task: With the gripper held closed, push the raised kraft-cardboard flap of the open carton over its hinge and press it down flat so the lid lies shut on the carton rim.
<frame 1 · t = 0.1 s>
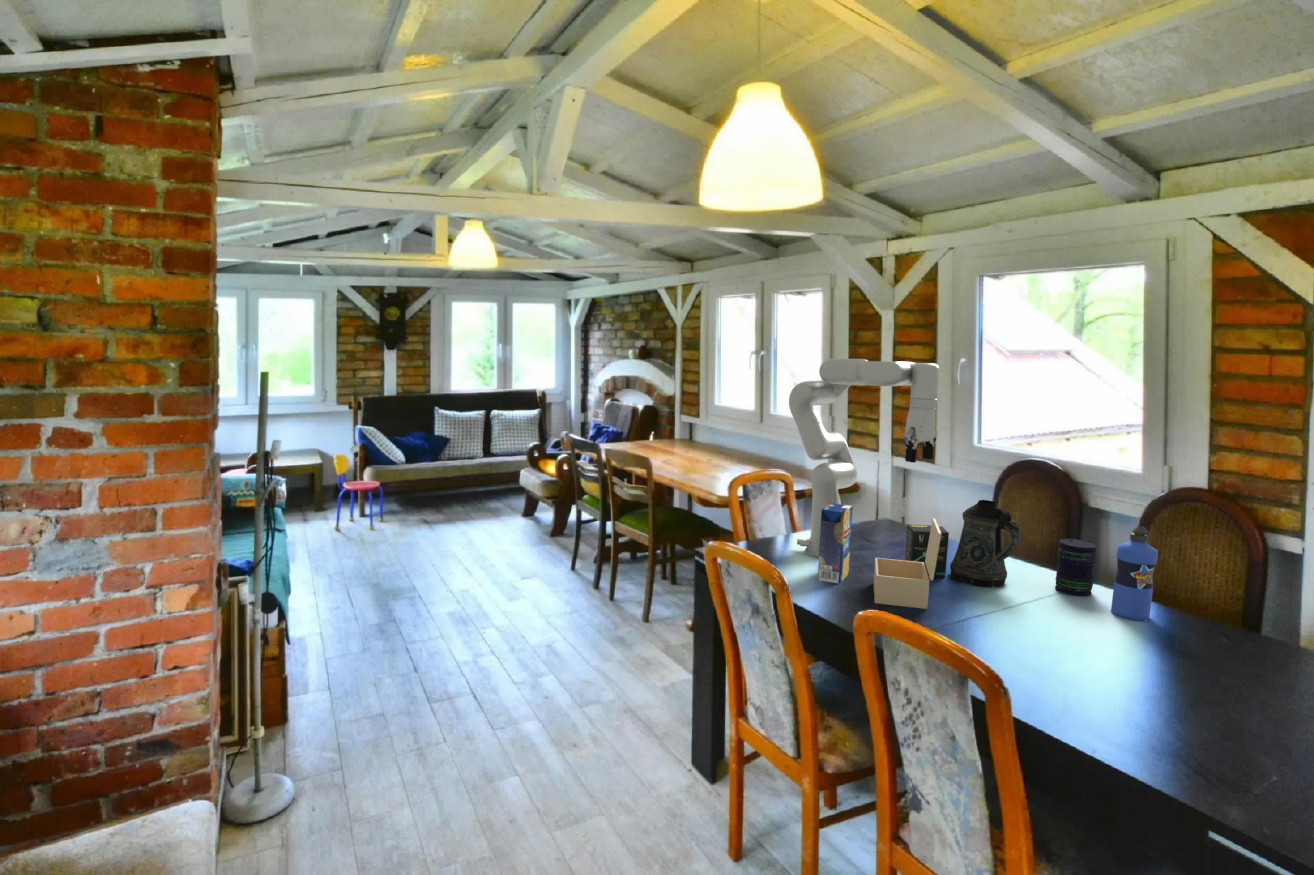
hand: (919, 460, 228), 37 cm above the table, tool pointing down, fingers open, 9 cm apart
storage jar: (1072, 591, 225), on the table
water bottle: (1129, 615, 207), on the table
beer stein: (982, 580, 234), on the table
beverage box: (833, 577, 233), on the table
tampon box: (924, 572, 240), on the table
lid: (933, 548, 213), point 15 cm above the table, hinge at 95.0°
carton: (899, 595, 217), on the table
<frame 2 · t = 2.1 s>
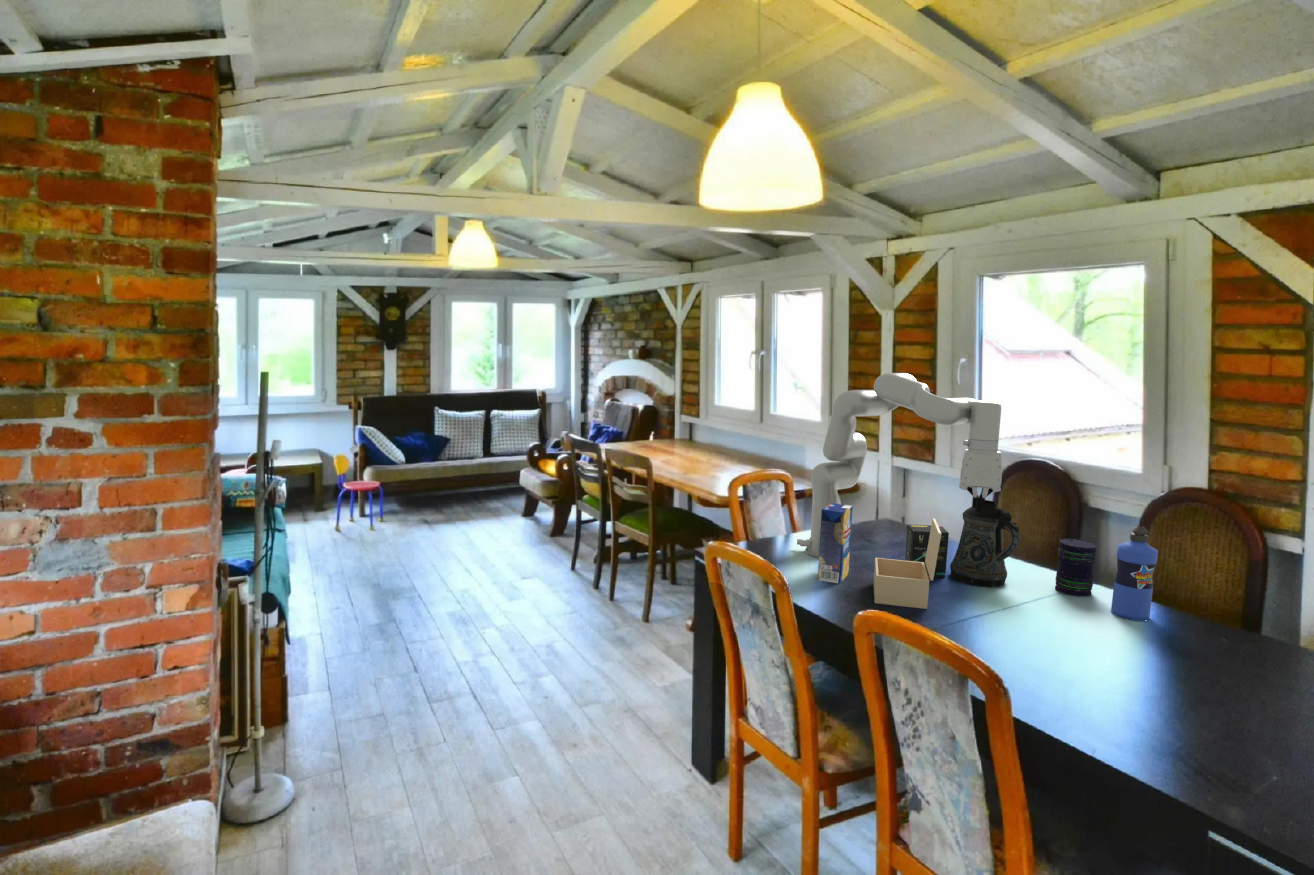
hand: (977, 510, 209), 27 cm above the table, tool pointing down, fingers closed
nothing on the table moved.
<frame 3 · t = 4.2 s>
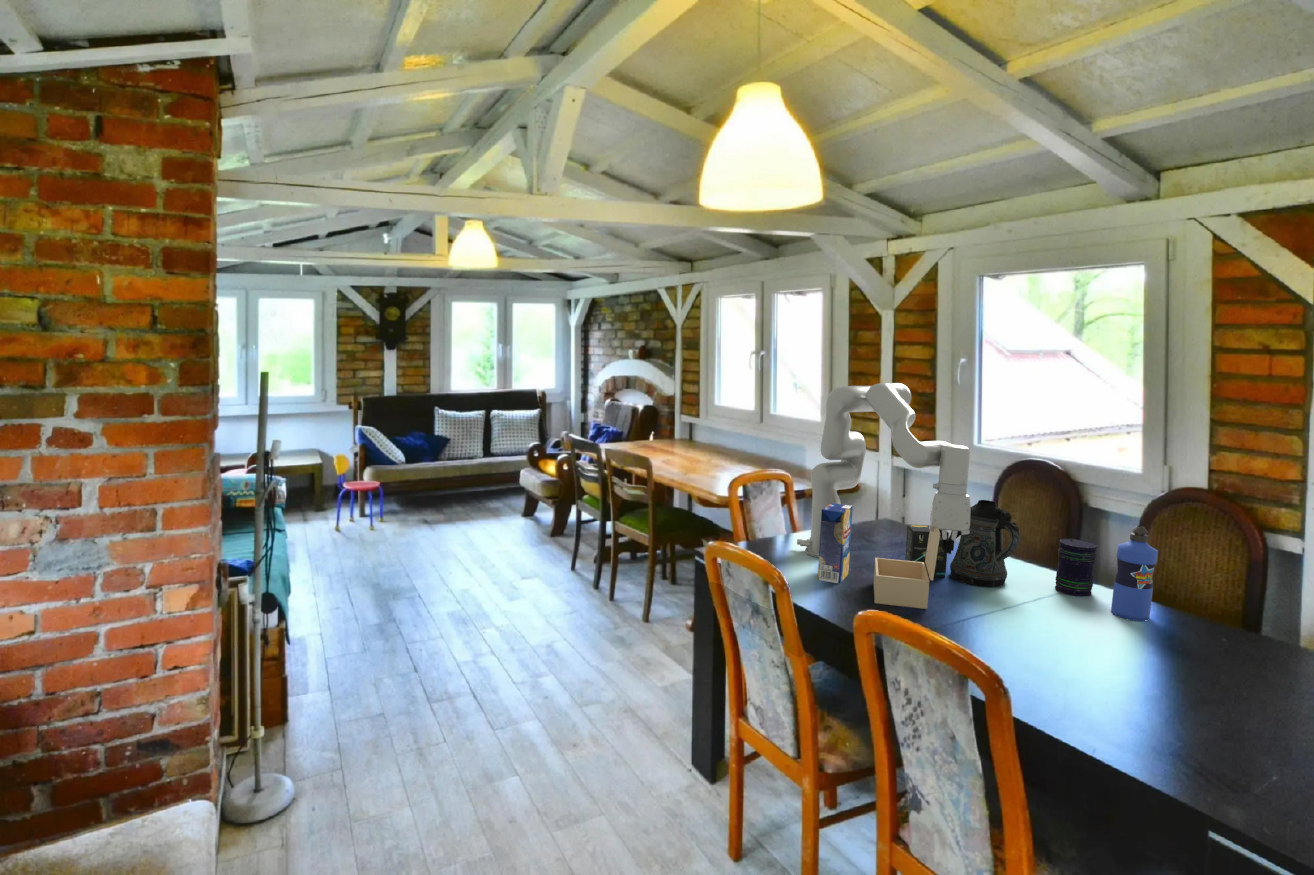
hand: (947, 552, 212), 14 cm above the table, tool pointing down, fingers closed
lid: (932, 548, 213), point 15 cm above the table, hinge at 93.8°, touching gripper
everything else where it was.
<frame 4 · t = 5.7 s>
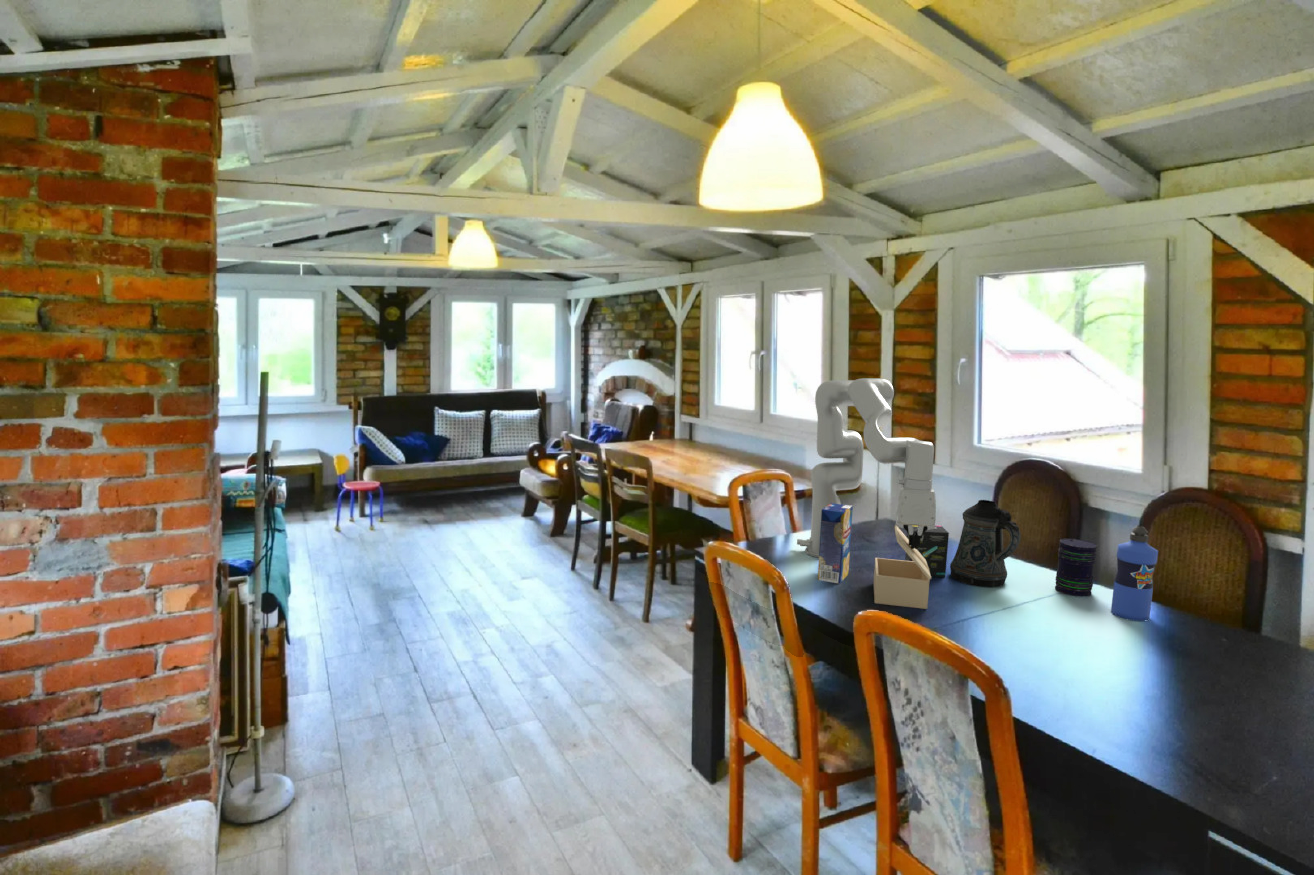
hand: (914, 547, 214), 15 cm above the table, tool pointing down, fingers closed
lid: (912, 551, 215), point 14 cm above the table, hinge at 47.1°, touching gripper
everything else where it was.
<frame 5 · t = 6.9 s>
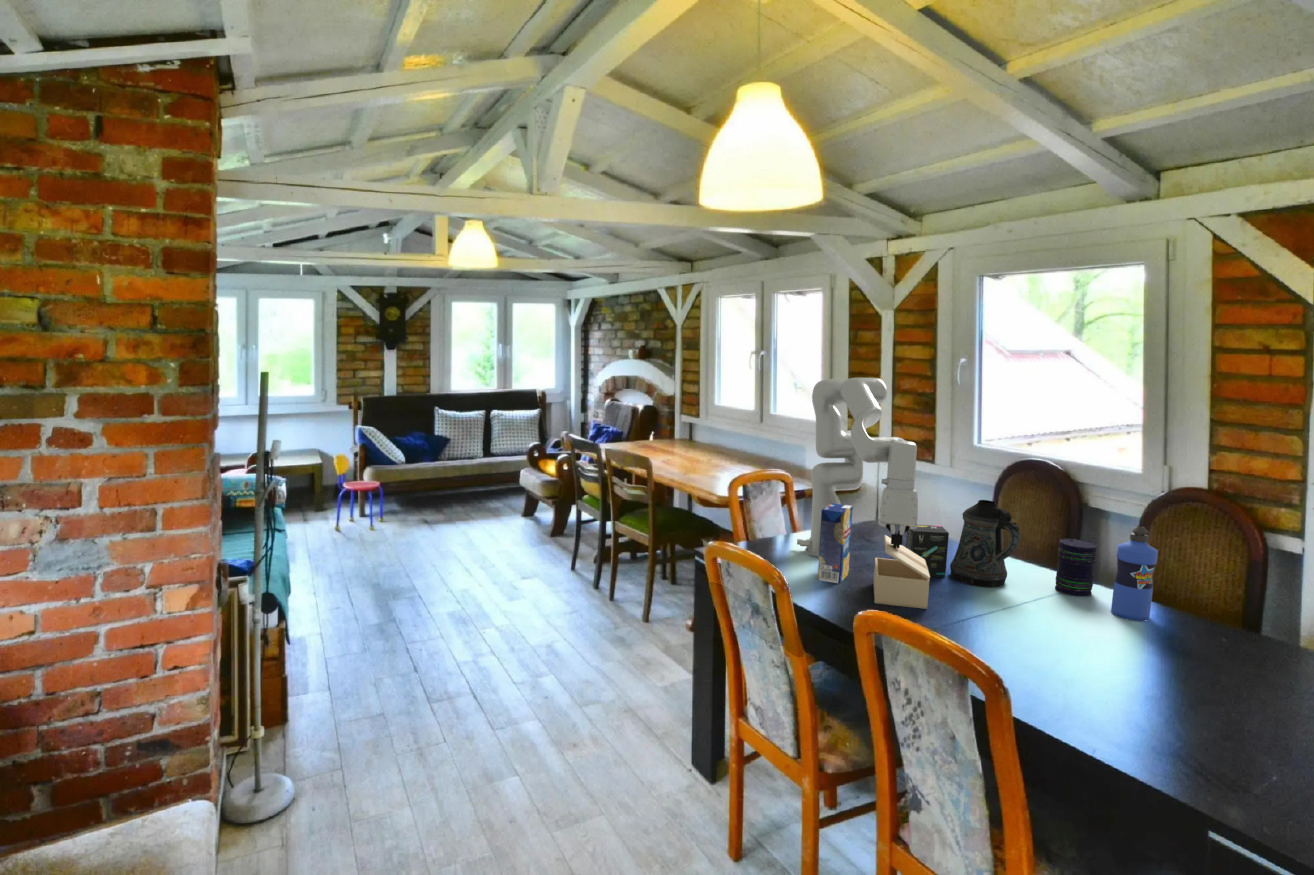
hand: (896, 546, 216), 14 cm above the table, tool pointing down, fingers closed
lid: (906, 556, 215), point 12 cm above the table, hinge at 28.7°, touching gripper
everything else where it was.
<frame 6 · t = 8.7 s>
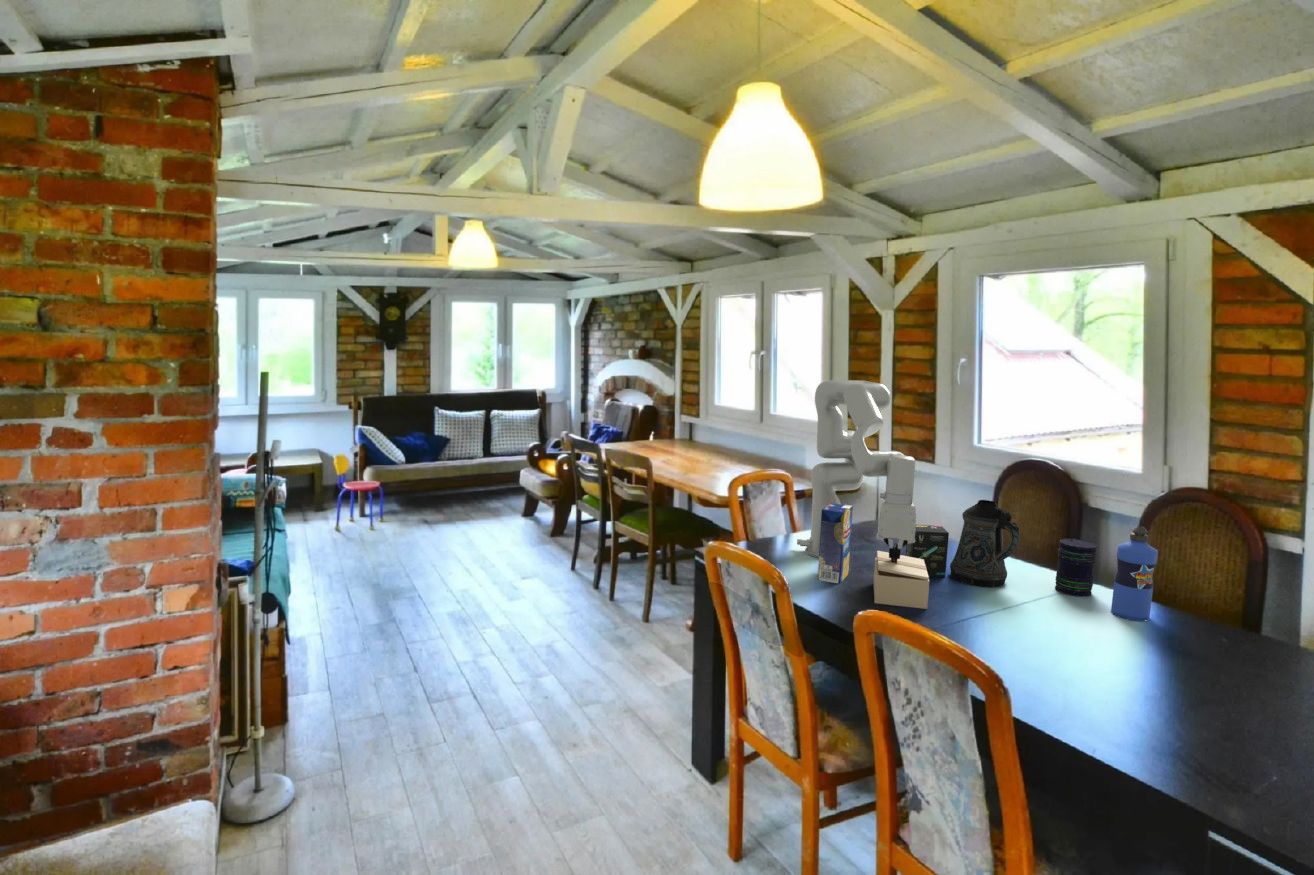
hand: (894, 560, 216), 10 cm above the table, tool pointing down, fingers closed
lid: (901, 564, 216), point 9 cm above the table, hinge at 5.8°
everything else where it was.
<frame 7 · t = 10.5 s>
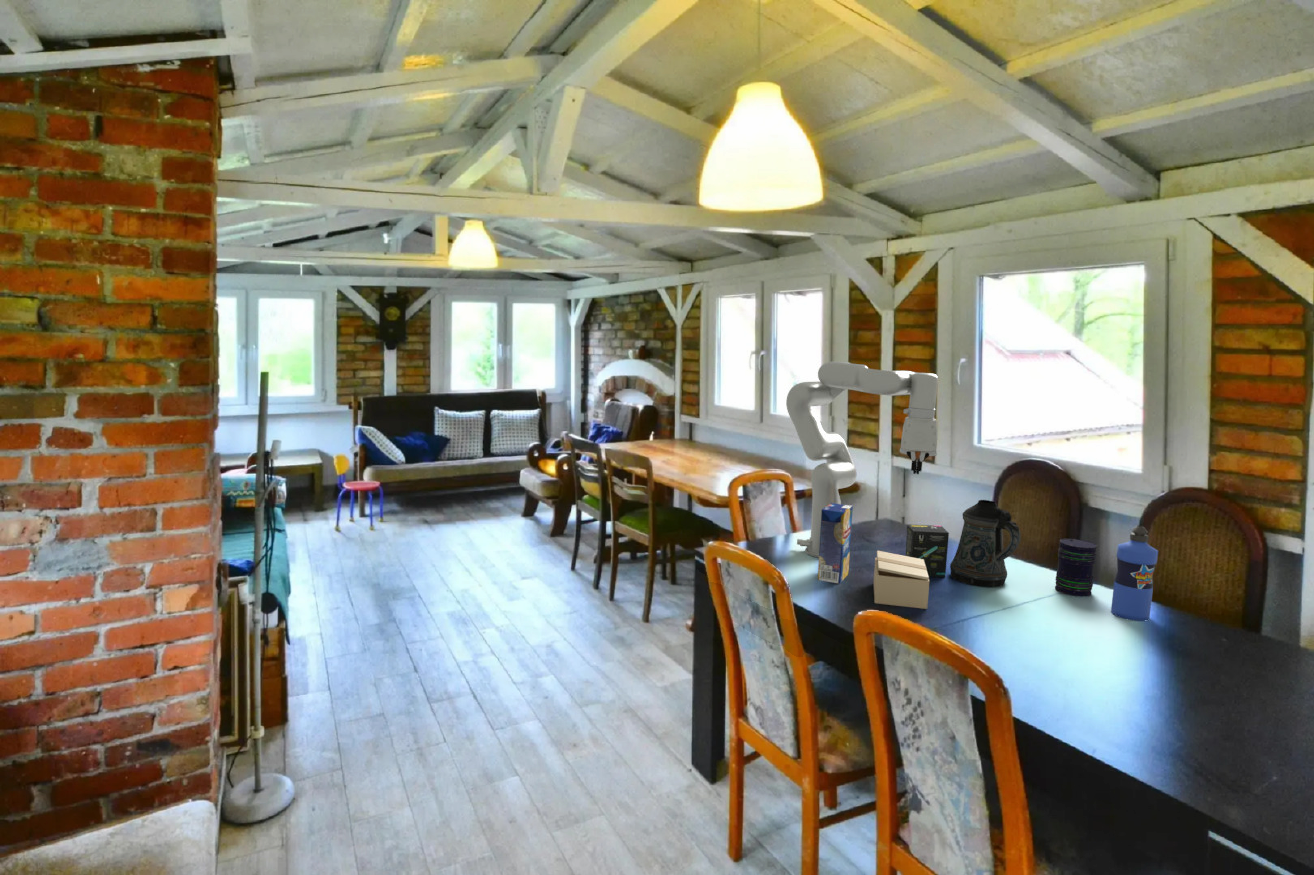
hand: (915, 473, 230), 33 cm above the table, tool pointing down, fingers closed
nothing on the table moved.
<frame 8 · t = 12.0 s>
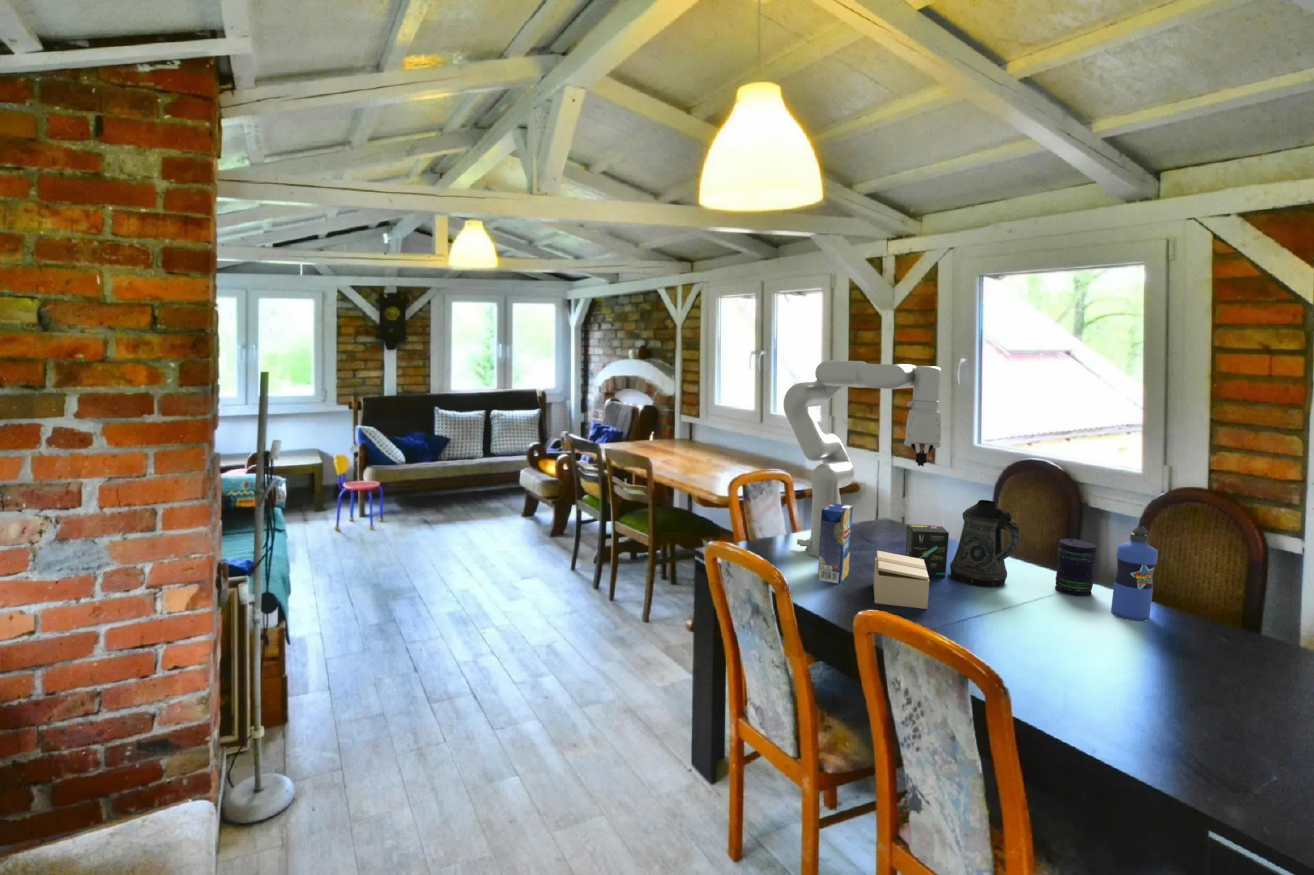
hand: (920, 465, 232), 35 cm above the table, tool pointing down, fingers closed
nothing on the table moved.
at the end: lid at +6° (first picture: +95°) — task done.
